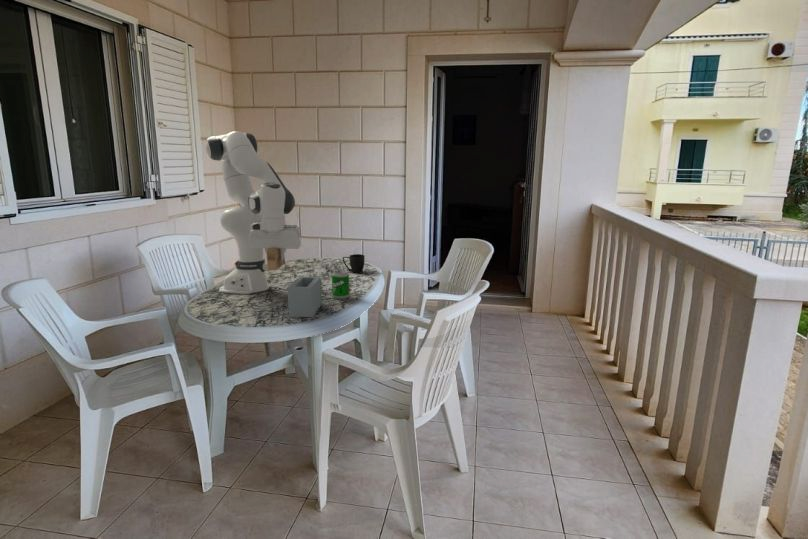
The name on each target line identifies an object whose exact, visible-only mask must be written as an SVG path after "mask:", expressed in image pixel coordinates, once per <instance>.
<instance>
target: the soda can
mask: <svg viewBox="0 0 808 539" xmlns="http://www.w3.org/2000/svg"><path fill="white" fill-rule="evenodd" d="M349 276H350V275H349V272H348V271H347V270H344V269H339V270H338V269H337V270H334V271H333V272H332V273H331V294H332V295H331V296H332V297H333V298H334V299H335V298H336V299H335V300H345V299H348V298H349V296H350V290H349V288H350V277H349Z"/></svg>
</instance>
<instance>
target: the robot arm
mask: <svg viewBox="0 0 808 539" xmlns="http://www.w3.org/2000/svg"><path fill="white" fill-rule="evenodd" d="M205 151H206V153H207V155H208V157H209V159H211V160H212V161H221V171H222V176H223V180H224V184H225V187H226V192H227V195H228V197H229V198H230V200H232V201H234V202H236V203H237V204H239V205H240V206H241V207H233V208H229V209H227V210H224V211H223V212H222V213H221V215H220V224H221V227H222V228H223V230H225V231H226V232H227V233H229V234H230V235H231V236H232V237H233V238H234V240H235V243H236V245H237V253H238V260H236V262H235V263H234V266H235V268H234V269H233V270H232V271H230V272H229V274H227V275H226V276H225V278H224V280H223V285H222V286H220V287H219V289H218V291H219V293H227V294H240V295H249V294H253V293H260V292H264V291H266V290H268V289H270V286H269V282H268V279H267V278H268V277H267V275H266V266H267V264H266V261H265V260H266V259H265V256H264V252H265V254H266V255H267V249H269V248H281V251H283V252H282V254H280V255H279V259H281V260H283V259H284V257H285V253H286V252H287V250H288V249H293V250H294V249H295V250H297V249H299V248H300V247H301V246H302V241H301V228H300V227H299V226H297V225H296V224H286V215H288V214H290V213H291V212H292V211H293V210H294V208H295V206H296V200H295V197H294V195H293V193H292V192H291V191H290V190H289V189H288V188H287V187H286V186H285V184H284V183H283V181H282V180H281V178H280V176H279V175H278V173H277V172H276V171H275V169H274V168H273V166H271V164H270V163H269V162H267V161H265V160H264V159H263V158H262V157H261V156H260V155H259V154H258V141H257V139H256V137H255V136H254V135H253V134H252V133H248V132H242V131H238V130H234V131H231V132H229V133H226V134H220V135H211V136H209V137H208V138H207V139H206V140H205ZM250 177H254V178H257V179H261V180H262V181H264V182H263V183H262V184H261V185H260V188H259V189H258V190H254V188H253V185H252V182H251V178H250Z"/></svg>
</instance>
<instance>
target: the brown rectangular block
mask: <svg viewBox="0 0 808 539" xmlns="http://www.w3.org/2000/svg"><path fill="white" fill-rule="evenodd" d="M282 252H283V251H281V248H269V249H267V254H266V261H267V270H268V271H277V270H278V269H279V268H281V267H282V266H283V265H285V264H286V260H285V259H286V258H285V257H286V256H284V259H283V260H281V259H279V255H280V254H282Z"/></svg>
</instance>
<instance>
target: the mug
mask: <svg viewBox="0 0 808 539" xmlns="http://www.w3.org/2000/svg"><path fill="white" fill-rule="evenodd" d="M365 256H366V255H364V254H361V253H359V254H357V253H355V254H350V255H349V256H343V257H342V262H343V264H344V265H345V267H346V268H347V270H348V271H349V272H350V273H352V272H353V273H352V274H355V273H360V274H362V273H363V271H364V267H365V262H366V261H365ZM345 258H346V259H349V266H350V267H349V266H348V265H347V264H346V261H345ZM361 272H362V273H361Z"/></svg>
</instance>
